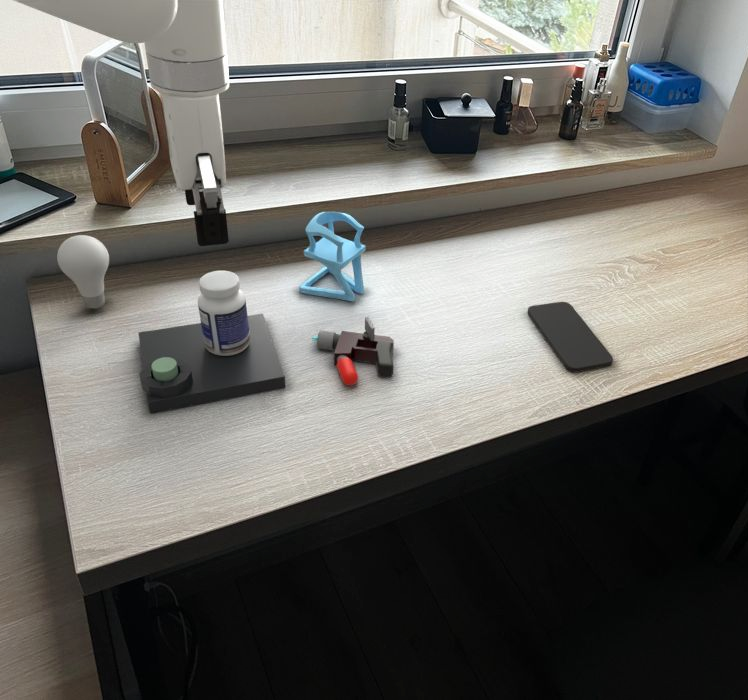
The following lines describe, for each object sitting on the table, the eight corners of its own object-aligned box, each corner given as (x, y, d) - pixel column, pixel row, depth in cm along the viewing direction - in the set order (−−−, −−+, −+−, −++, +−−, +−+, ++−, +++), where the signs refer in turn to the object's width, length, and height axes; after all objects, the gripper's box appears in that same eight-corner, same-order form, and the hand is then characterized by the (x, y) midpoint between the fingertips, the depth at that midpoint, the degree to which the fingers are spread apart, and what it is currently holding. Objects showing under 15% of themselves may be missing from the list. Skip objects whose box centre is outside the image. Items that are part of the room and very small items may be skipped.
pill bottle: (256, 334, 97) (250, 271, 90) (241, 360, 92) (233, 296, 86) (214, 328, 97) (205, 264, 90) (197, 354, 92) (186, 289, 86)
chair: (344, 309, 106) (344, 238, 99) (298, 291, 108) (294, 220, 101) (372, 285, 112) (374, 216, 104) (327, 269, 114) (326, 200, 107)
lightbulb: (113, 290, 104) (96, 222, 97) (125, 312, 100) (109, 243, 94) (67, 301, 101) (46, 232, 94) (78, 324, 97) (58, 254, 90)
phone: (570, 369, 99) (524, 306, 109) (568, 374, 99) (524, 311, 110) (616, 361, 101) (568, 300, 112) (615, 365, 102) (567, 304, 112)
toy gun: (314, 337, 100) (312, 309, 97) (399, 348, 100) (401, 320, 97) (296, 383, 93) (294, 354, 90) (388, 394, 93) (390, 365, 90)
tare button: (154, 383, 85) (152, 373, 84) (152, 369, 87) (150, 359, 86) (179, 379, 86) (177, 369, 85) (177, 365, 88) (175, 355, 87)
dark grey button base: (147, 414, 86) (142, 392, 84) (138, 344, 95) (133, 322, 93) (285, 387, 92) (284, 366, 90) (263, 324, 101) (261, 303, 99)
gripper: (141, 44, 77) (164, 192, 87) (157, 101, 65) (181, 265, 75) (214, 44, 80) (228, 187, 90) (243, 99, 68) (255, 257, 78)
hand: (207, 222), depth 83 cm, fingers open, 9 cm apart
